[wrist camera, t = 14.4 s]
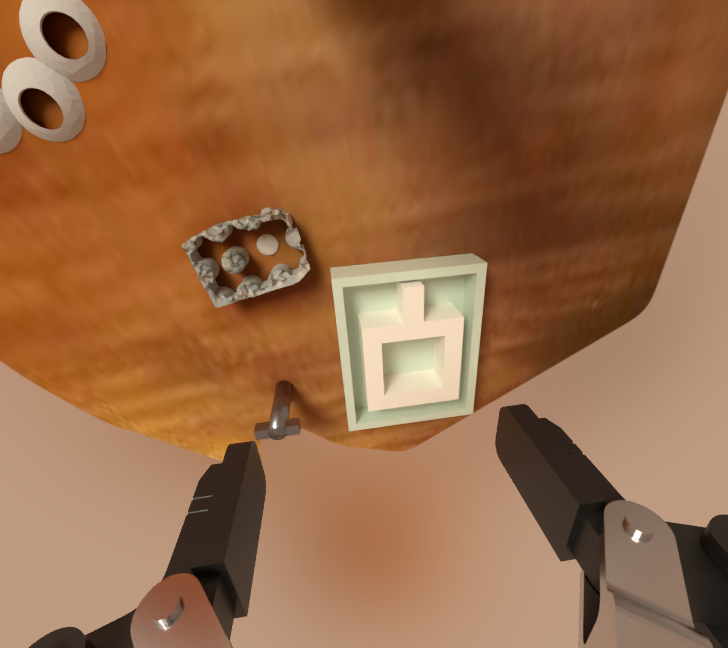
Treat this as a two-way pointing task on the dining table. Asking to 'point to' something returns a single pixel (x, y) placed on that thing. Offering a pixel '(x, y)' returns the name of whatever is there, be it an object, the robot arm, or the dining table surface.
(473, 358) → the tray
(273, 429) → the T-head stake
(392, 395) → the cream rectangular frame
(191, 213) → the dining table surface
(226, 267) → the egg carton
